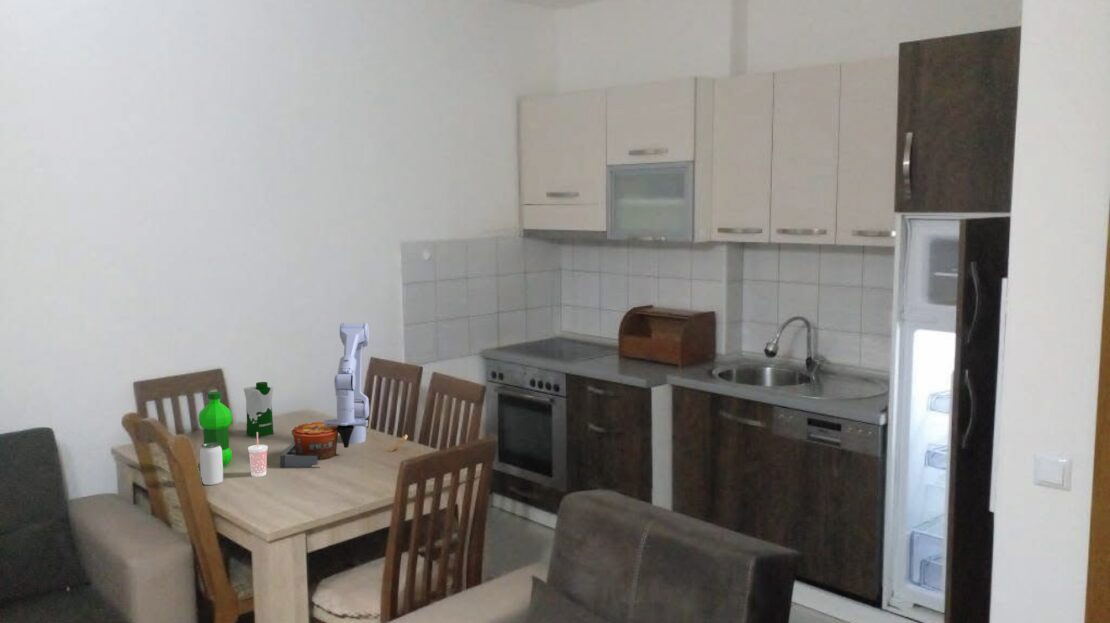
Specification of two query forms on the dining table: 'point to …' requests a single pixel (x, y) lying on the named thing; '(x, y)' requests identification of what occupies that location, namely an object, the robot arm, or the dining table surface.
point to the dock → (297, 459)
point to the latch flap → (398, 443)
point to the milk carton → (259, 409)
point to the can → (211, 463)
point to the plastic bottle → (216, 424)
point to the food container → (316, 440)
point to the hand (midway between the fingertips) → (346, 446)
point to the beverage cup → (258, 459)
